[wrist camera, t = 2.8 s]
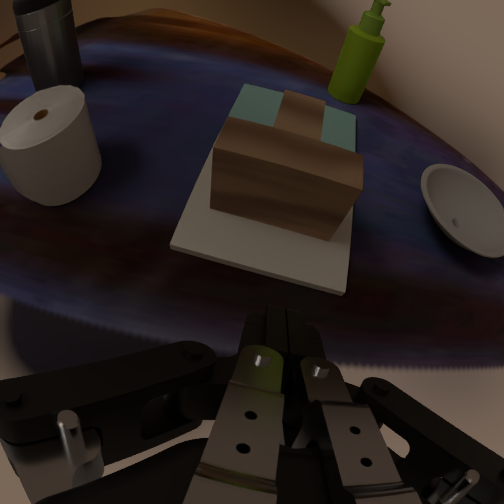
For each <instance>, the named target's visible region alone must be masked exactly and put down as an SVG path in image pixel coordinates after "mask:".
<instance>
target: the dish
mask: <svg viewBox="0 0 504 504" xmlns="http://www.w3.org/2000/svg"><path fill="white" fill-rule="evenodd" d="M421 189H422V194H423V197H424V199H425V201H426V204H427V206H428V208H429V210H430V213H431V215H432V217H433V219H434V220H435V222H436V224H437V225H438V227H439V228H440V229H441V230H442V231H443V233H444V234H445V235H446V236H447V237H448V238H450V239H451V240H452V241H453V242H455V243H456V244H458V245H459V246H461V247H463V248H465V249H467V250H469V251H472V252H474V253H476V254H478V255H481V256H484V257H488V258H498V257H501V256H504V208H503V207H502V205H501V203H500V202H499V201H498V199H497V198H496V197H495V195H494V194H493V193H492V192H491V191H490V190H489V189H488V188H487V187H486V186H485V185H484V184H483V183H482V182H481V181H479V180H478V179H477V178H475V177H474V176H472V175H471V174H469V173H468V172H466V171H464V170H462V169H460V168H457V167H455V166H451V165H447V164H435V165H432V166H429V167H428V168H427V169H426V170H425V171H424V172H423V174H422V177H421ZM453 224H454V225H455V226H454V225H453Z"/></svg>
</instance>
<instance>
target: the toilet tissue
mask: <svg viewBox="0 0 504 504" xmlns="http://www.w3.org/2000/svg"><path fill="white" fill-rule="evenodd" d="M0 143H1V146H2V147H0V166H1V167H2V169H3V171H4V172H5V174H6V176H7V177H8V179H9V181H10V182H11V184H12V185H13V186H14V188H15V189H16V190H17V191H18V192H19V193H21V194H22V195H23V196H25V197H27V198H28V199H30V200H32V201H35V202H37V203H39V204H41V205H45V206H58V205H62V204H65V203H68V202H70V201H73V200H75V199H76V198H78V197H79V196H81V195H82V194H84V193H85V192H86V191H87V190H88V189H89V188H90V187H91V186H92V185H93V183H94V182H95V181H96V179H97V177H98V176H99V173H100V170H101V165H102V160H101V154H100V152H99V148H98V144H97V142H96V137H95V135H94V131H93V126H92V124H91V120H90V116H89V112H88V107H87V105H86V101H85V97H84V93H83V92H82V91H81V90H80V89H79V88H78V87H73V86H71V85H68V86H63V85H59V86H56V87H51V88H48V89H45V90H41V91H38V92H37V93H35V94H33V95H32V96H30V97H28V98H27V99H25V100H24V101H22V102H21V103H20V104H19V105H17V106H16V107H15V108H14V109H13V110H12V111H11V112H10V113H9V115H8V116H7V117H6V119H5V120H4V122H3V124H2V126H1V128H0Z"/></svg>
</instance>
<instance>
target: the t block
mask: <svg viewBox="0 0 504 504" xmlns="http://www.w3.org/2000/svg"><path fill="white" fill-rule="evenodd" d="M325 103H326V101H323V100H319V99H316V98H313V97H310V96H306V95H303V94H299V93H296V92H292V91H288V90H285V92H284V95H283V98H282V101H281V104H280V107H279V110H278V113H277V117H276V120H275V123H274V126H273V127H271V126H267V125H263V124H259V123H255V122H251V121H247V120H243V119H239V118H235V117H230V116H228V118H227V120H226V122H225V124H224V126H223V128H222V130H221V132H220V134H219V136H218V138H217V140H216V142H215V144H214V146H213V155H212V173H211V192H210V209H213V210H217V211H221V212H225V213H228V214H232V215H236V216H239V217H243V218H247V219H250V220H254V221H258V222H261V223H265V224H268V225H272V226H275V227H279V228H283V229H286V230H290V231H293V232H297V233H300V234H304V235H307V236H310V237H314V238H317V239H321V240H324V241H328V242H329V241H330V239H331V238H332V236H333V235H334V233H335V232H336V230H337V229H338V227H339V226H340V224H341V223H342V221H343V220H344V218H345V217H346V215H347V214H348V212H349V211H350V209H351V208H352V206H353V205H354V203H355V201H356V200H357V198H358V197H359V195H360V194H361V192H362V191H363V155H361V154H358V153H355V152H352V151H350V150H347V149H344V148H341V147H338V146H335V145H332V144H329V143H325V142H322V141H321V134H322V126H323V119H324V111H325Z"/></svg>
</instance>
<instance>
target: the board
mask: <svg viewBox="0 0 504 504" xmlns="http://www.w3.org/2000/svg"><path fill="white" fill-rule="evenodd" d="M283 95H284V93H281V92H277V91H274V90H270V89H265V88H261V87H257V86H253V85H248V84H244V86H243V88H242V90H241V92H240V94H239V96H238V98H237V99H236V101H235V103H234V105H233V107H232V109H231V111H230V113H229V115H228V116H230V117H235V118H239V119H243V120H247V121H251V122H255V123H259V124H263V125H267V126H271V127H273V126H274V123H275V120H276V117H277V113H278V110H279V107H280V104H281V101H282V98H283ZM227 118H228V117H227ZM226 120H227V119H226ZM225 122H226V121H225ZM224 124H225V123H224ZM223 126H224V125H223ZM222 128H223V127H222ZM355 129H356V116H355V115H353V114H350V113H347V112H344V111H341V110H338V109H335V108H332V107H329V106H326V105H325V111H324V119H323V126H322V134H321V141H322V142H325V143H329V144H332V145H335V146H338V147H341V148H344V149H347V150H350V151H352V152H355ZM221 130H222V129H221ZM220 132H221V131H220ZM219 134H220V133H219ZM218 136H219V135H218ZM217 138H218V137H217ZM216 140H217V139H216ZM215 142H216V141H215ZM214 144H215V143H214ZM213 146H214V145H213ZM212 155H213V147H212V150H211V152H210V154H209V156H208V158H207V160H206V162H205V164H204V167H203V169H202V171H201V173H200V175H199V177H198V180H197V182H196V184H195V186H194V189H193V191H192V193H191V195H190V198H189V200H188V202H187V204H186V207H185V209H184V211H183V214H182V216H181V218H180V221H179V223H178V226H177V228H176V230H175V233H174V235H173V238H172V240H171V242H170V248H171V249H173V250H176V251H180V252H183V253H187V254H190V255H194V256H197V257H201V258H204V259H208V260H211V261H215V262H218V263H222V264H225V265H229V266H233V267H236V268H240V269H243V270H247V271H251V272H254V273H258V274H262V275H265V276H269V277H272V278H276V279H280V280H284V281H287V282H291V283H295V284H298V285H302V286H306V287H310V288H313V289H317V290H321V291H325V292H328V293H332V294H336V295H340V296H342V295H343V294H344V293H345V291H346V283H347V273H348V264H349V253H350V242H351V230H352V216H353V206H352V208H351V209H350V211H349V212H348V214H347V215H346V217H345V218H344V220H343V221H342V223H341V224H340V226H339V227H338V229H337V230H336V232H335V233H334V235H333V236H332V238H331V239H330V241H329V242H328V241H324V240H321V239H317V238H314V237H310V236H307V235H304V234H300V233H297V232H293V231H290V230H286V229H283V228H279V227H275V226H272V225H268V224H265V223H261V222H258V221H254V220H250V219H247V218H243V217H239V216H236V215H232V214H228V213H225V212H221V211H217V210H213V209H210V192H211V173H212Z"/></svg>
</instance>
